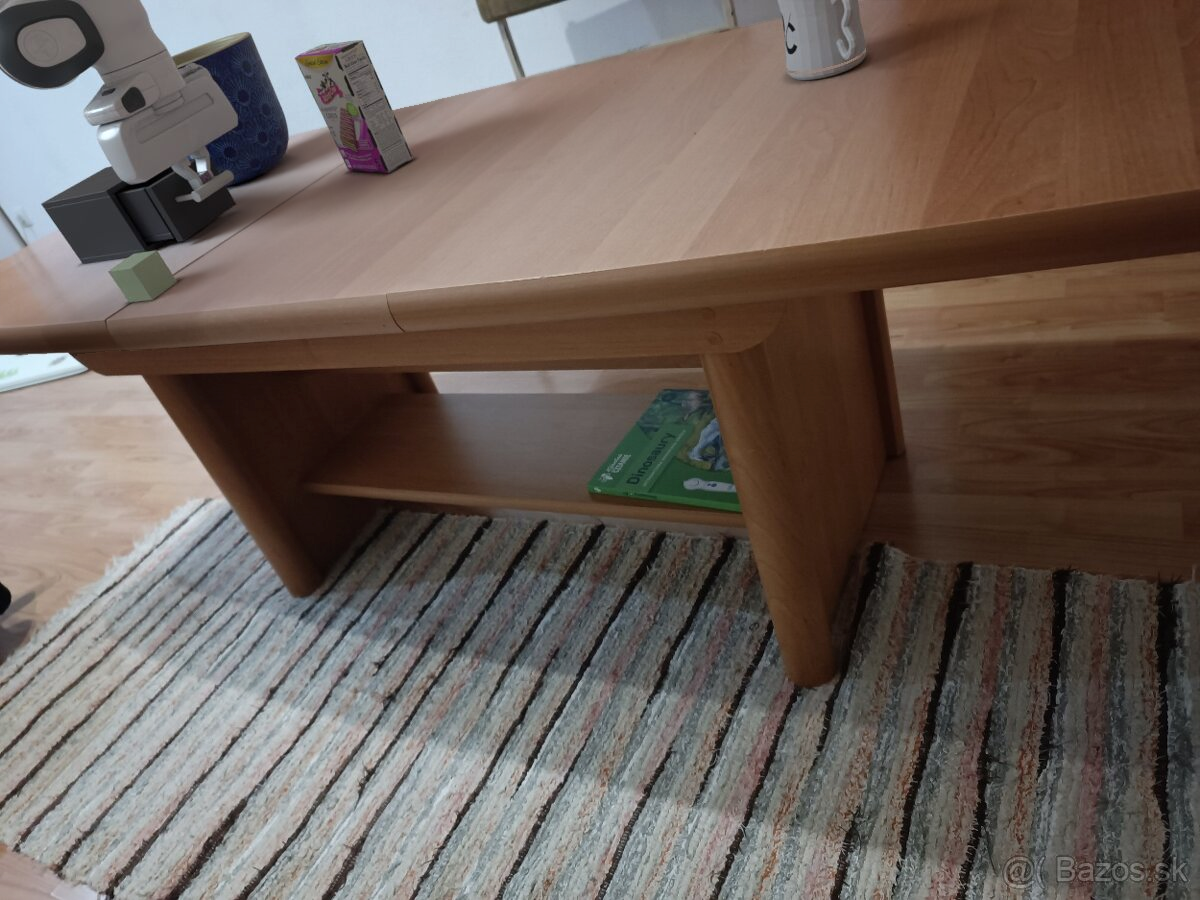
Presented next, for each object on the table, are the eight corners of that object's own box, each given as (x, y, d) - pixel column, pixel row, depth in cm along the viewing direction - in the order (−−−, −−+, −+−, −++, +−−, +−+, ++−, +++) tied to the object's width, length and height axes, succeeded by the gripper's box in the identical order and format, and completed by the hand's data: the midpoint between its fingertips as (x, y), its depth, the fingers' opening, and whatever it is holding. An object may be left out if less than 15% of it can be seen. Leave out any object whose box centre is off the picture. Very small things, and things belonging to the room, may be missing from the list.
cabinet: (205, 214, 131) (170, 153, 126) (147, 254, 123) (106, 190, 117) (142, 225, 138) (105, 167, 132) (82, 263, 129) (40, 203, 124)
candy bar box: (346, 173, 126) (291, 57, 117) (373, 158, 129) (321, 43, 119) (387, 175, 119) (332, 51, 110) (415, 159, 121) (363, 37, 112)
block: (152, 300, 105) (131, 267, 102) (129, 302, 107) (107, 271, 104) (177, 281, 108) (157, 250, 105) (154, 284, 110) (133, 253, 107)
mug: (775, 74, 104) (760, -16, 98) (845, 48, 104) (834, -43, 99) (820, 94, 94) (806, -5, 88) (897, 64, 94) (889, -36, 89)
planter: (302, 168, 137) (239, 43, 126) (179, 213, 137) (106, 92, 126) (312, 137, 154) (257, 24, 143) (202, 177, 154) (139, 67, 143)
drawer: (260, 200, 125) (232, 147, 120) (208, 237, 117) (176, 182, 113) (174, 215, 133) (144, 166, 129) (120, 250, 125) (86, 200, 121)
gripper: (184, 62, 120) (237, 159, 128) (72, 118, 106) (138, 222, 114) (216, 53, 117) (268, 152, 125) (105, 109, 103) (171, 216, 111)
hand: (205, 186), depth 119 cm, fingers closed
